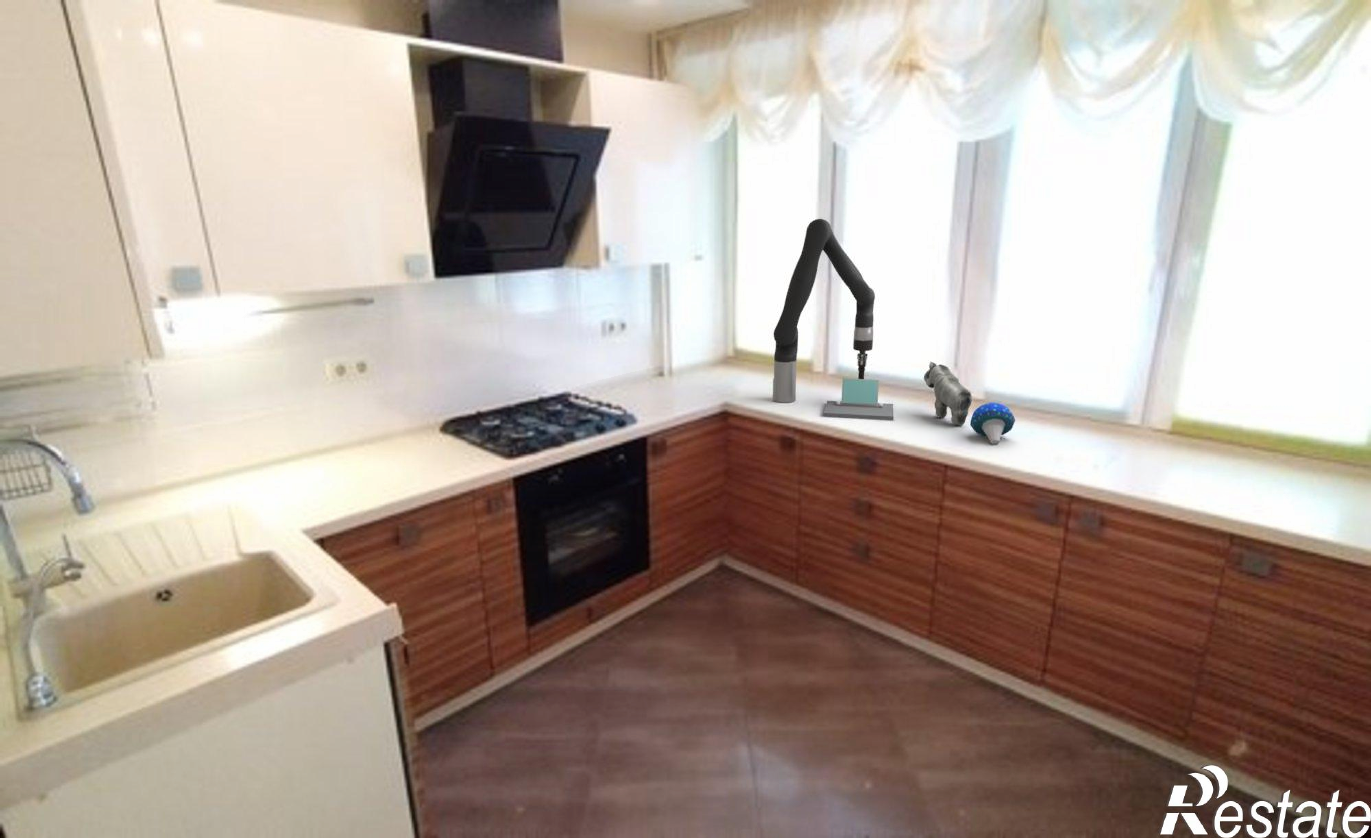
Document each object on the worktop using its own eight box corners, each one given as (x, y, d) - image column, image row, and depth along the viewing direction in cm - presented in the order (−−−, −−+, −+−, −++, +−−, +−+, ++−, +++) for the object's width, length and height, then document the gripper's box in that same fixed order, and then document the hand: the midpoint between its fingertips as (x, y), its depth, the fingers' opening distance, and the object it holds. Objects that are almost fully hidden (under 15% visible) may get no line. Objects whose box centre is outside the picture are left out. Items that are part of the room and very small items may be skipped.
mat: (823, 416, 258) (823, 408, 257) (827, 404, 275) (827, 396, 274) (893, 420, 251) (893, 412, 250) (892, 407, 268) (893, 399, 267)
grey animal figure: (974, 426, 241) (980, 372, 235) (953, 429, 239) (958, 375, 233) (933, 408, 264) (937, 359, 258) (913, 411, 262) (917, 361, 256)
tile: (841, 403, 268) (841, 403, 266) (842, 378, 268) (842, 378, 266) (877, 405, 264) (877, 404, 262) (878, 380, 264) (879, 379, 263)
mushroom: (984, 426, 217) (980, 390, 225) (964, 449, 228) (961, 414, 237) (1026, 434, 216) (1021, 398, 225) (1005, 457, 228) (1000, 422, 237)
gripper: (854, 334, 273) (852, 375, 278) (853, 340, 261) (850, 383, 266) (873, 335, 271) (870, 376, 276) (872, 341, 259) (870, 384, 264)
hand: (861, 379), depth 271 cm, fingers closed
